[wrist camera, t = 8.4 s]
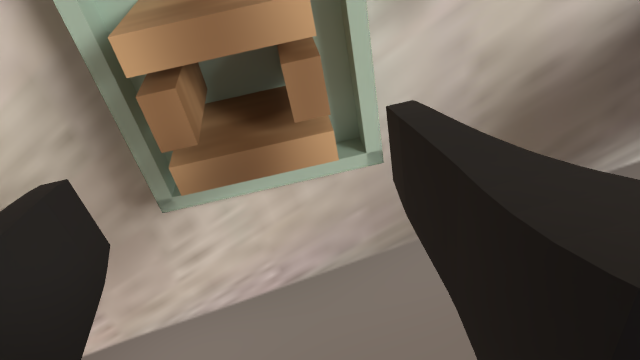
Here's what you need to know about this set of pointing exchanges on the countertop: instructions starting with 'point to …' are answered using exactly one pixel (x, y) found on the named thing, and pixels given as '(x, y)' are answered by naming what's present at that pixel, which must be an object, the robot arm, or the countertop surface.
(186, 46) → the wooden blocks
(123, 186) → the countertop surface
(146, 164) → the tray
